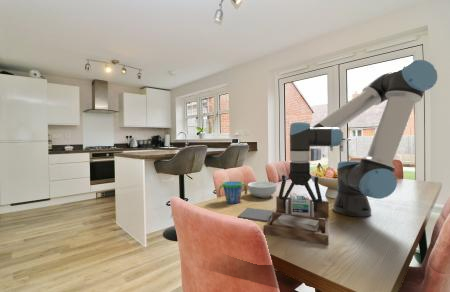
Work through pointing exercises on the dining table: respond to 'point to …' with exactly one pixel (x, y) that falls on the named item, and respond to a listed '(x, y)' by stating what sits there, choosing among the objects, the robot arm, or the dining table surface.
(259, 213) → the mat
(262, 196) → the cereal bowl
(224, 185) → the snack cup
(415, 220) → the dining table surface
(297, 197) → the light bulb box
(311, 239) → the open wooden box
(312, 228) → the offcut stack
